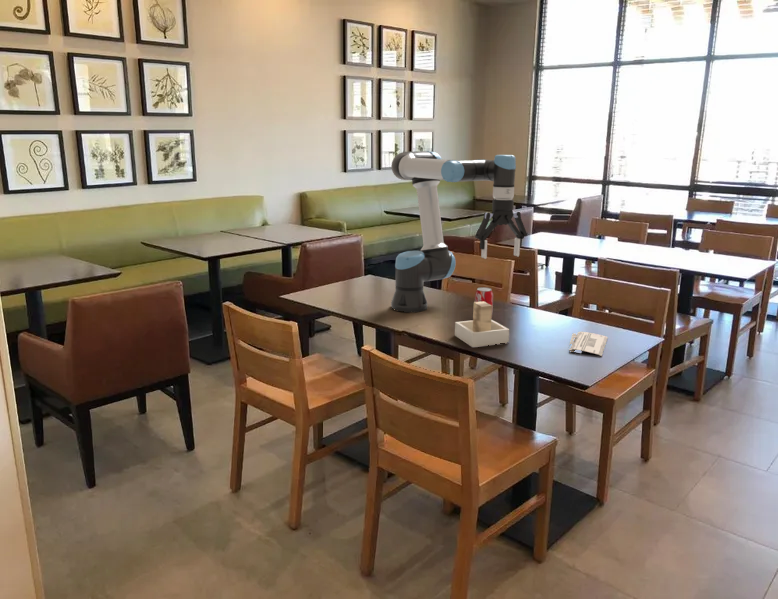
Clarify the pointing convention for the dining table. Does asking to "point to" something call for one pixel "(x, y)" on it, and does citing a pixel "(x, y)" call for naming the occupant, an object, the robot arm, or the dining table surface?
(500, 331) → the white slotted box
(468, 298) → the dining table surface
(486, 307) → the light wood block
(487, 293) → the soda can
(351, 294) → the dining table surface
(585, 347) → the newspaper
